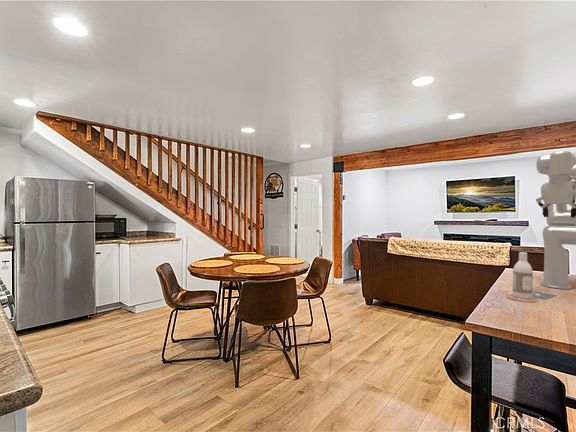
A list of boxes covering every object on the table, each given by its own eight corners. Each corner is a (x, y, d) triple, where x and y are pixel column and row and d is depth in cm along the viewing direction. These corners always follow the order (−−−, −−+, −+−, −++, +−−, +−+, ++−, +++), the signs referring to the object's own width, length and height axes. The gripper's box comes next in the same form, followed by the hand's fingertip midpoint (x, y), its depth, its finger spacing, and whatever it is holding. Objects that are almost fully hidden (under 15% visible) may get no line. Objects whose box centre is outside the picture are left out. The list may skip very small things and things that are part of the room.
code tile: (525, 289, 153) (525, 289, 153) (556, 295, 143) (556, 295, 143) (514, 293, 147) (514, 292, 147) (545, 299, 137) (545, 299, 137)
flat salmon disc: (513, 294, 146) (513, 292, 146) (542, 300, 136) (542, 298, 136) (502, 297, 140) (502, 296, 140) (531, 303, 130) (531, 302, 130)
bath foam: (518, 299, 135) (519, 253, 135) (509, 294, 142) (509, 251, 141) (535, 299, 134) (537, 253, 134) (525, 295, 141) (526, 251, 141)
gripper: (588, 178, 135) (587, 217, 135) (540, 181, 150) (539, 216, 150) (582, 177, 131) (581, 217, 131) (533, 180, 146) (532, 216, 146)
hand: (559, 217), depth 141 cm, fingers open, 9 cm apart
